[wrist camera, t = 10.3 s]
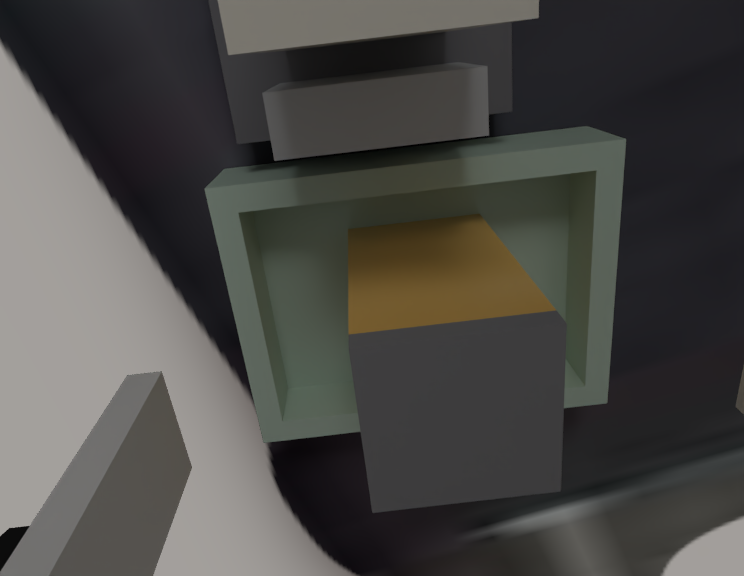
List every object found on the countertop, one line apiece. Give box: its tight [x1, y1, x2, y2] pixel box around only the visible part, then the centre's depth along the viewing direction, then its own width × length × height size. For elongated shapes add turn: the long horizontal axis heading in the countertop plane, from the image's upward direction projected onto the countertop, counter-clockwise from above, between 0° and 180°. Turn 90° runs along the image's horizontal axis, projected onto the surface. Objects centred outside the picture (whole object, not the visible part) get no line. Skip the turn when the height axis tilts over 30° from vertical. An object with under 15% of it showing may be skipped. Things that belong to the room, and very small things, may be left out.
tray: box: [205, 126, 626, 443], centre depth 19 cm, size 9×12×3 cm
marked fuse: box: [348, 214, 567, 513], centre depth 16 cm, size 4×4×8 cm
